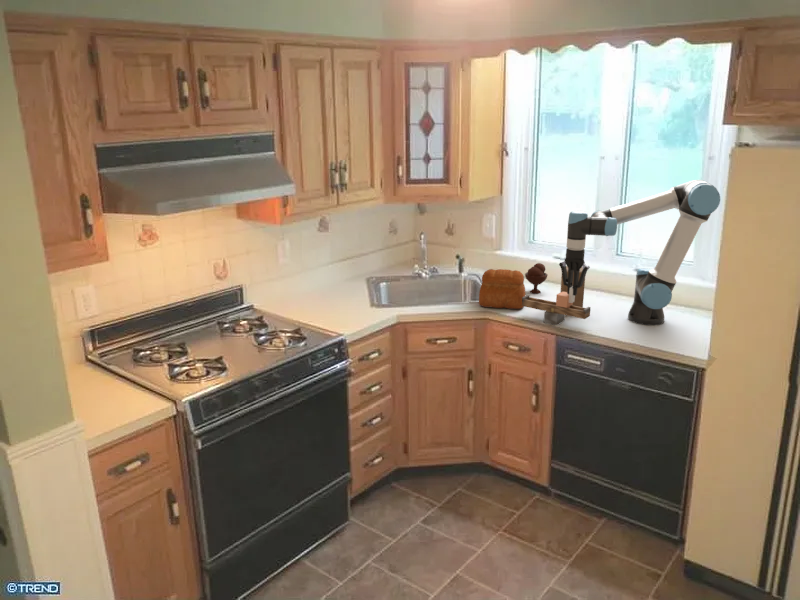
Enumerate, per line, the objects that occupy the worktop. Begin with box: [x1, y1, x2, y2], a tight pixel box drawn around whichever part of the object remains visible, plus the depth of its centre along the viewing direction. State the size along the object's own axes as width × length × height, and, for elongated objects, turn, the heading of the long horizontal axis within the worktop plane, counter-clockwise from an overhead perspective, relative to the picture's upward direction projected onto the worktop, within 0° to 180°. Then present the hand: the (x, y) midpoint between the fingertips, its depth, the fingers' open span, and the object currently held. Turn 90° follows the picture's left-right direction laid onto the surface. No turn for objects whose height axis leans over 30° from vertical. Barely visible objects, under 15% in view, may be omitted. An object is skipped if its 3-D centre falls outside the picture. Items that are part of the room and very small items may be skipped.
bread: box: [478, 268, 526, 310], centre depth 323 cm, size 18×21×17 cm
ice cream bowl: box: [524, 262, 548, 295], centre depth 342 cm, size 11×11×15 cm
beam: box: [522, 294, 591, 326], centre depth 299 cm, size 30×8×9 cm, turn 52°
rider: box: [555, 291, 573, 308], centre depth 295 cm, size 5×6×6 cm
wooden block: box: [559, 265, 586, 308], centre depth 313 cm, size 10×10×20 cm
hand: (571, 302), depth 293 cm, fingers closed
